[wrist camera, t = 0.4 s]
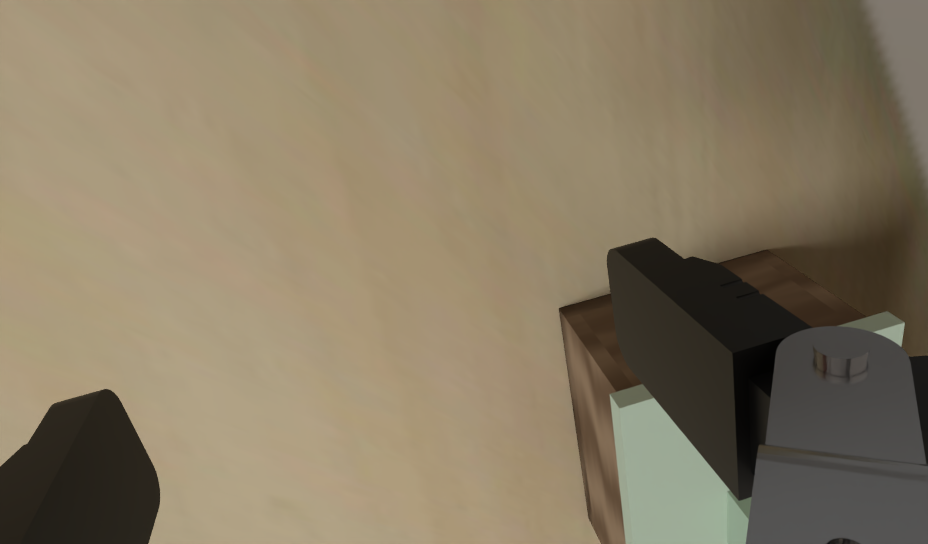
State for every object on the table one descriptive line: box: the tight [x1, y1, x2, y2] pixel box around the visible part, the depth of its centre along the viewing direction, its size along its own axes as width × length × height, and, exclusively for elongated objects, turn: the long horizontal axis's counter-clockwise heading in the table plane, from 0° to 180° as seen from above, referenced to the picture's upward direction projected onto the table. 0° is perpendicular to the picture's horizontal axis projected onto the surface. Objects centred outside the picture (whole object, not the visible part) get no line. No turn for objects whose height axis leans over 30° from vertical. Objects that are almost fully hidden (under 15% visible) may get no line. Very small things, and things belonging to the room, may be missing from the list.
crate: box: [559, 250, 866, 544], centre depth 37 cm, size 16×12×8 cm
